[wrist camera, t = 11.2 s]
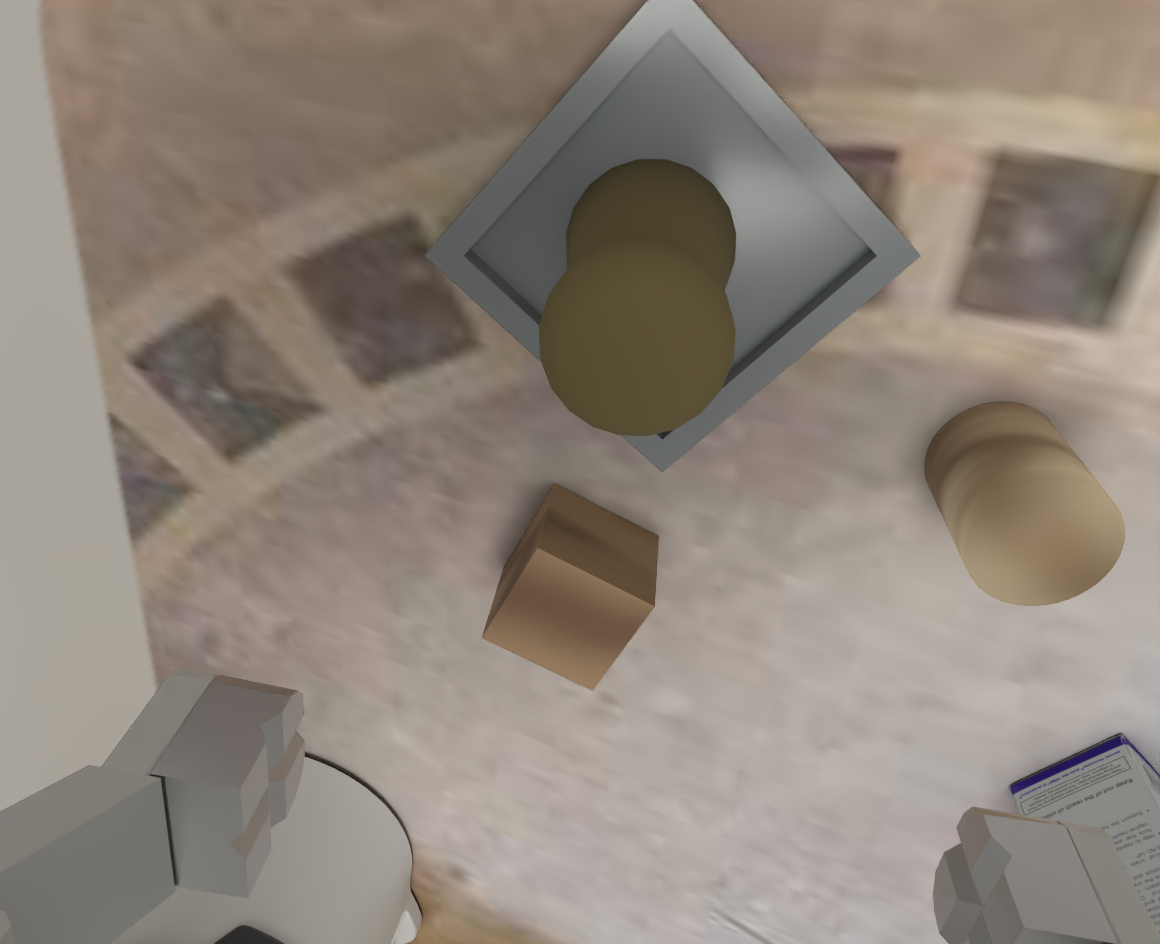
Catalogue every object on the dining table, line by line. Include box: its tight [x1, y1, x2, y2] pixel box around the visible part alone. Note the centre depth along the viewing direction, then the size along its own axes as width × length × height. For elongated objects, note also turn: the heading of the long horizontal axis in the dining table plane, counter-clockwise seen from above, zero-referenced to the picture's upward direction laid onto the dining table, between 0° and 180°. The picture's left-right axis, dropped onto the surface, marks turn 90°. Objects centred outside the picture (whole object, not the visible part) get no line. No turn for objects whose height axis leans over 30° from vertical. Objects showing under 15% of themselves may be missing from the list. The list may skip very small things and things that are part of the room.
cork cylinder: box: [925, 402, 1125, 606], centre depth 33 cm, size 5×5×6 cm
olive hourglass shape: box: [539, 159, 737, 436], centre depth 28 cm, size 6×6×11 cm
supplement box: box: [1011, 734, 1160, 936], centre depth 38 cm, size 6×6×12 cm
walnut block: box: [482, 483, 659, 691], centre depth 38 cm, size 5×5×5 cm
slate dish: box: [425, 0, 920, 472], centre depth 32 cm, size 12×12×2 cm
